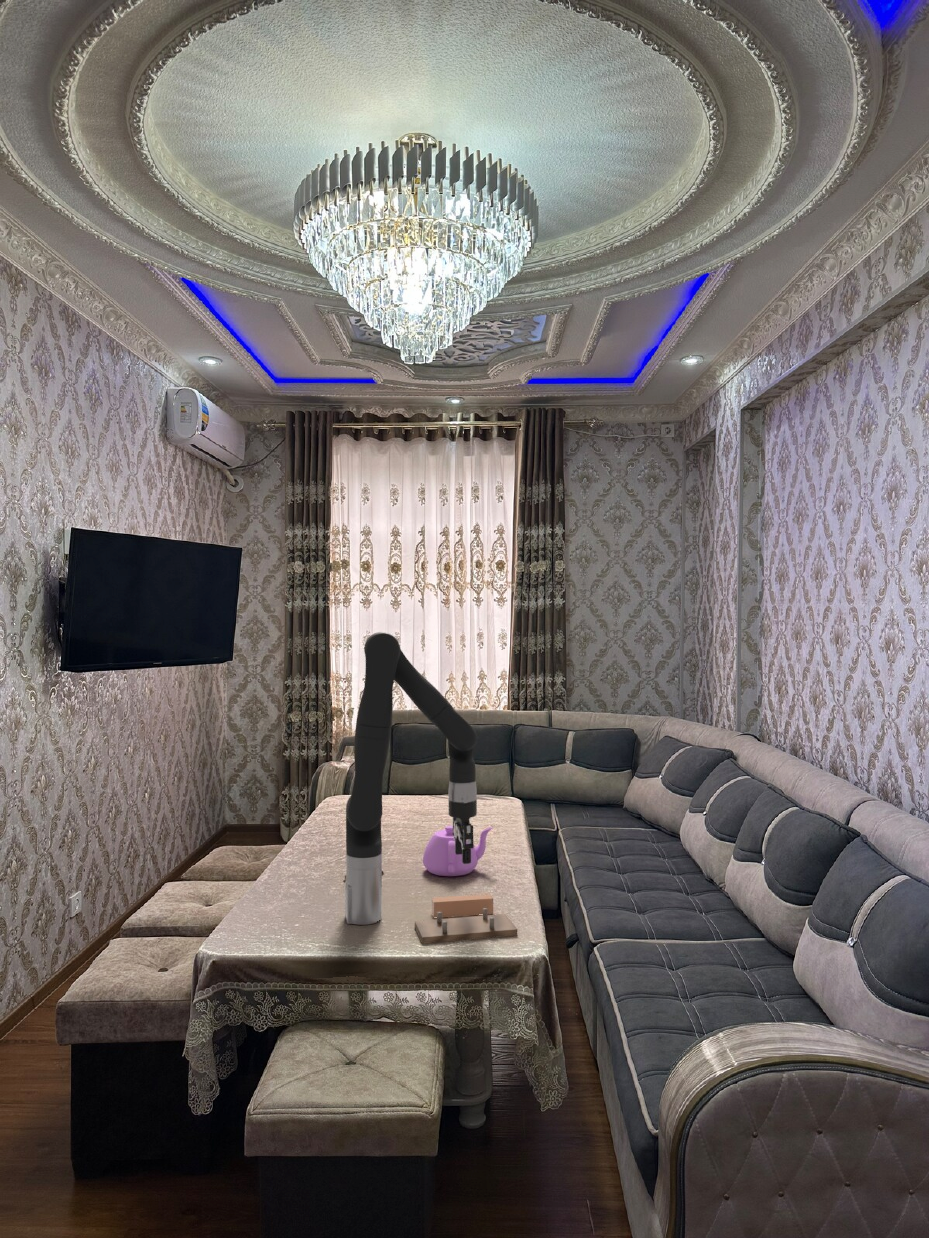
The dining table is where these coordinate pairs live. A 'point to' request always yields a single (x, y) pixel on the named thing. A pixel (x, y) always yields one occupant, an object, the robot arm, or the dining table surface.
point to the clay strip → (462, 905)
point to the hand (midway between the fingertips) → (462, 858)
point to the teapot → (450, 854)
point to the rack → (465, 928)
